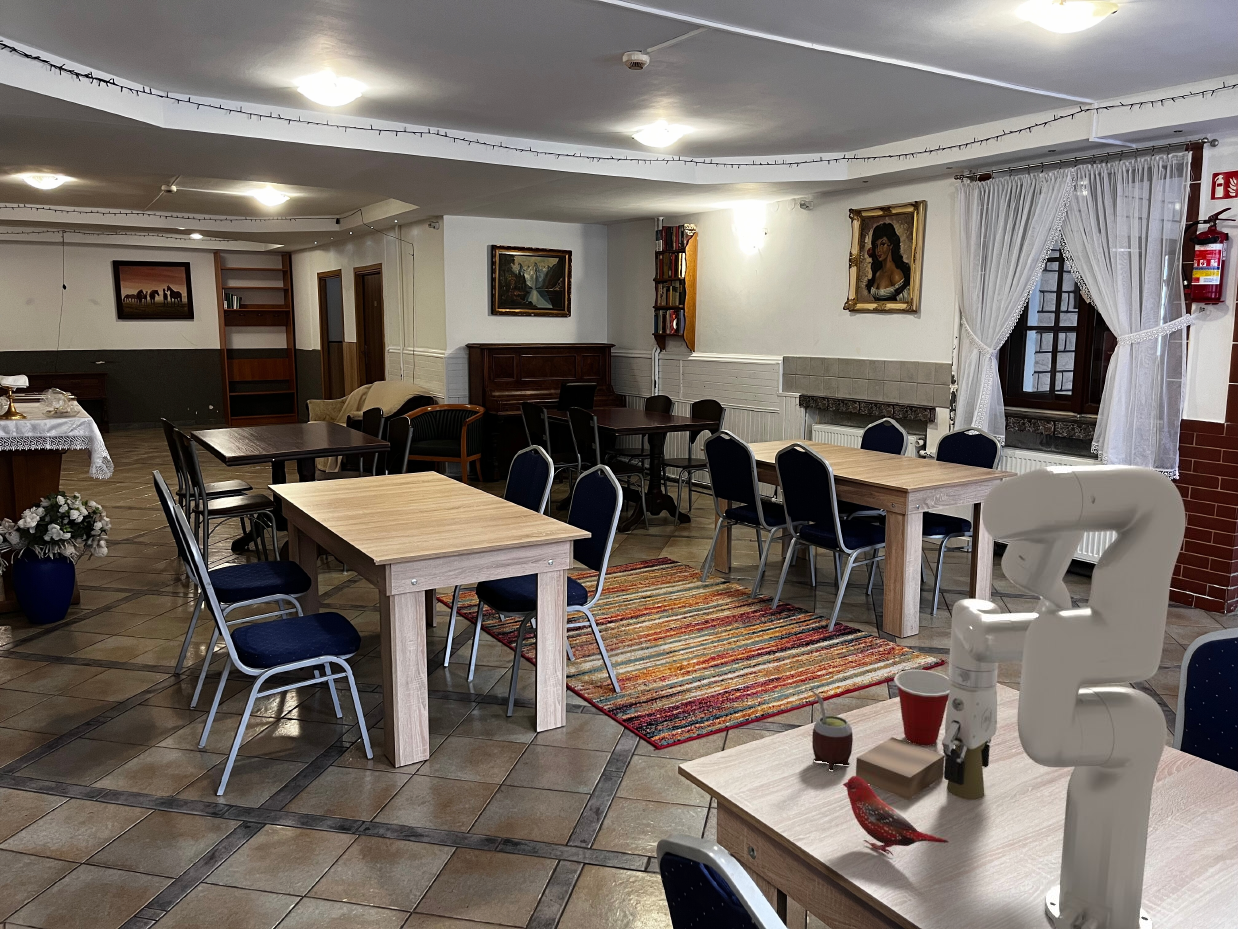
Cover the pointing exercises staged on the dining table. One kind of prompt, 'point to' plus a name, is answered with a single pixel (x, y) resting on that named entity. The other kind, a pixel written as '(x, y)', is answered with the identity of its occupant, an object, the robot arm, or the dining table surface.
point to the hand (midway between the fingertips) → (966, 772)
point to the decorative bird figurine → (882, 818)
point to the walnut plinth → (900, 768)
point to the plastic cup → (922, 704)
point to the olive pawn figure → (970, 775)
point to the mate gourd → (831, 738)
